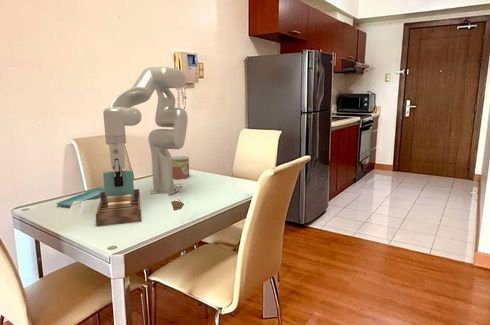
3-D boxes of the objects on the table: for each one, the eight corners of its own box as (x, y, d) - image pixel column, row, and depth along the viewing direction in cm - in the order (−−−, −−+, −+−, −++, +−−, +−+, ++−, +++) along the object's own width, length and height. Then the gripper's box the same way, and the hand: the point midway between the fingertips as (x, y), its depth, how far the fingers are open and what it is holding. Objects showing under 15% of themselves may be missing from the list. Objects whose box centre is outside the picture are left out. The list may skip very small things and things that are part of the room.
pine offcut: (131, 214, 135) (130, 200, 134) (131, 216, 133) (130, 202, 132) (109, 216, 133) (108, 202, 132) (109, 218, 131) (107, 204, 130)
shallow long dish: (72, 209, 148) (72, 204, 148) (56, 207, 151) (55, 202, 151) (113, 193, 173) (112, 188, 172) (98, 192, 175) (97, 187, 175)
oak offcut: (132, 211, 140) (131, 194, 138) (132, 212, 137) (131, 195, 136) (108, 213, 137) (107, 196, 136) (108, 215, 135) (106, 198, 133)
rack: (140, 209, 146) (139, 188, 145) (141, 225, 128) (140, 201, 126) (101, 213, 142) (100, 192, 140) (97, 230, 123) (95, 206, 122)
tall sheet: (135, 207, 144) (132, 170, 141) (135, 209, 142) (132, 171, 139) (106, 210, 141) (103, 171, 138) (106, 212, 138) (103, 173, 136)
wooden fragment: (166, 219, 134) (165, 217, 134) (140, 217, 137) (140, 215, 137) (192, 201, 159) (192, 199, 158) (170, 199, 161) (170, 197, 161)
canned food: (180, 180, 197) (179, 160, 195) (166, 178, 203) (165, 158, 201) (193, 177, 206) (192, 157, 204) (179, 174, 212) (178, 155, 210)
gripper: (125, 142, 129) (128, 189, 133) (126, 137, 145) (129, 179, 148) (103, 142, 127) (107, 191, 130) (107, 138, 143) (110, 181, 146)
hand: (119, 184), depth 139 cm, fingers open, 3 cm apart
